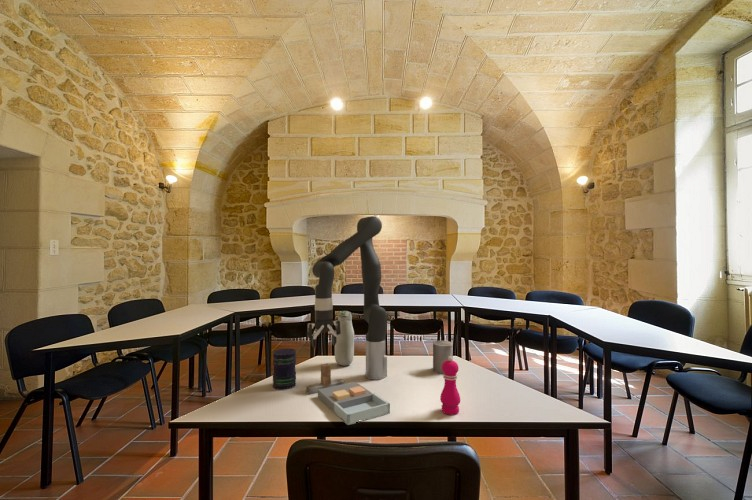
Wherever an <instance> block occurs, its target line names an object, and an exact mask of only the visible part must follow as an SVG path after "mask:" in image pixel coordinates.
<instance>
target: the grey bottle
mask: <svg viewBox="0 0 752 500" xmlns="http://www.w3.org/2000/svg"><path fill="white" fill-rule="evenodd" d="M352 317H353V314H352V313H351V311H348V310H340V312H338V314H337V320H338V321H340V330H341V334H339V335H337V337H336V338H337V343H336V344H335V345H334V361H335V362H336V364H338V365H340V366H343V367H345V366H350V365H351V364H352V363H353V361H354V357H355V330H354V327H353V322H352V320H353V319H352ZM334 332H336V330H334Z"/></svg>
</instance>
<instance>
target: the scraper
mask: <svg viewBox="0 0 752 500" xmlns="http://www.w3.org/2000/svg"><path fill="white" fill-rule="evenodd" d="M331 366H332V365H331V364H329V363H327V362H326V363H322V364H320V382H318V383H314V384H309V385H306V386H305V387H306V388H305V391H306V393H307V394H308V395H314V394H318V389H323V388H327V387H332V386H337V385H341V384H346V382H345V380H343V379H342V378H339V379H334V380H333V379H332V375H331V374H332V373H331V372H332V367H331ZM331 379H332V380H331Z"/></svg>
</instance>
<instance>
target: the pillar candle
mask: <svg viewBox="0 0 752 500" xmlns="http://www.w3.org/2000/svg"><path fill="white" fill-rule="evenodd" d="M453 344H454V343H453V342H452V341H449V340H434V341H433V342H432V371H433V372H434V373H438V374H442V375H443V374H444V372H443V370H442V364H443V363H444V362H445V361H447V360H448V357H449V356H451V357H452V358H453V357H454V355H453V354H454V353H453V352H454V351H453V346H454V345H453ZM453 359H454V358H453ZM452 361H454V360H452Z"/></svg>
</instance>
